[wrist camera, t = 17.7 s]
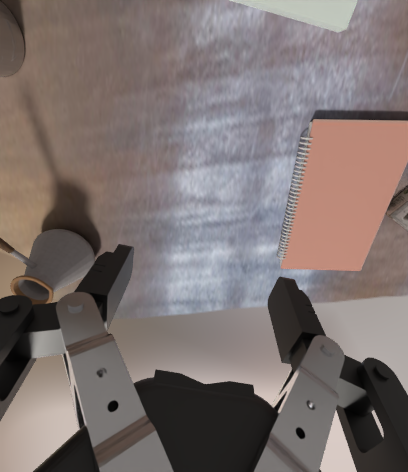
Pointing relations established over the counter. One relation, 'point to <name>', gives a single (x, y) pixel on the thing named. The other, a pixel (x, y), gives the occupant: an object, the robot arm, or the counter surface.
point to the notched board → (309, 11)
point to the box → (399, 209)
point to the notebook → (342, 192)
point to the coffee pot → (51, 264)
